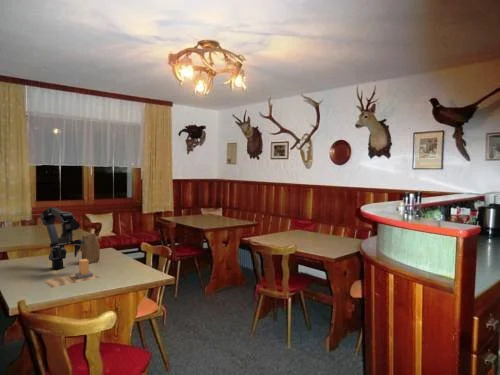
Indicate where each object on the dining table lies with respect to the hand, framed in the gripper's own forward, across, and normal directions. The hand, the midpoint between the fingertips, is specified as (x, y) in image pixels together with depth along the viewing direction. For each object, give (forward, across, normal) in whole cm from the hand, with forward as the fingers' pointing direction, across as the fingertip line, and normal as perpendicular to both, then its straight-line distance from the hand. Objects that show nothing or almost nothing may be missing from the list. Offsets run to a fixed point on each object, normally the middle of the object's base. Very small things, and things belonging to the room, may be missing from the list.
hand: (67, 257), depth 217 cm
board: (+14, +6, -7) cm, 17 cm away
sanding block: (+12, +11, -3) cm, 17 cm away
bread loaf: (+3, +2, +31) cm, 31 cm away
